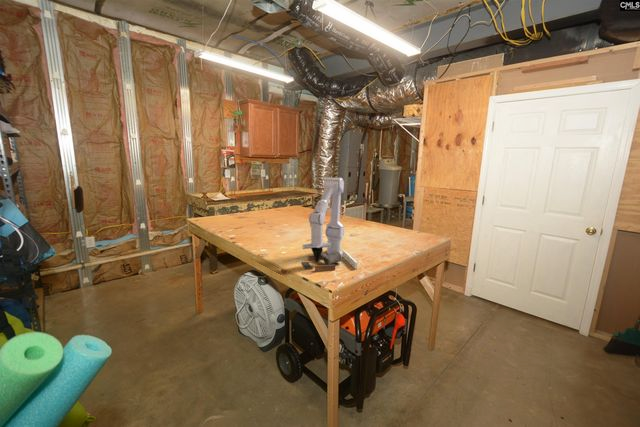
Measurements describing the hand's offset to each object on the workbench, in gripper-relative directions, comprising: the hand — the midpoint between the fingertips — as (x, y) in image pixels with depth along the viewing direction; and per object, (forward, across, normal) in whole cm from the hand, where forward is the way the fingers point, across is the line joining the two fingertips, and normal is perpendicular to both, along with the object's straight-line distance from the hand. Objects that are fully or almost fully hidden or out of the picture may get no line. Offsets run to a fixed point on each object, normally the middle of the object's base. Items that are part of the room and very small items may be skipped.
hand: (316, 261), depth 145 cm
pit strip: (+2, -5, 0) cm, 6 cm away
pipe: (-1, +3, 0) cm, 3 cm away
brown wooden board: (+2, +2, 0) cm, 3 cm away
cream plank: (+2, +18, 0) cm, 18 cm away
